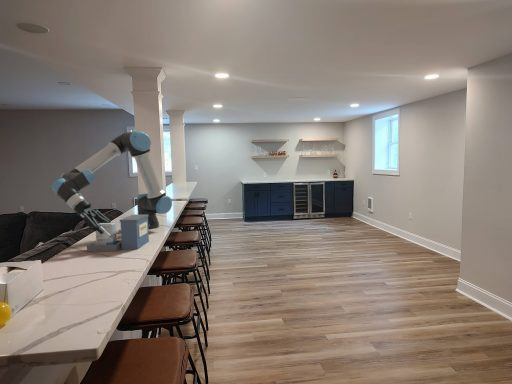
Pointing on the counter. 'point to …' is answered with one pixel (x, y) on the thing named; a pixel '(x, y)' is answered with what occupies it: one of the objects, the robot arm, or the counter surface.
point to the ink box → (110, 229)
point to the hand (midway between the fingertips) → (112, 235)
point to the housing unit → (134, 231)
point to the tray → (104, 247)
